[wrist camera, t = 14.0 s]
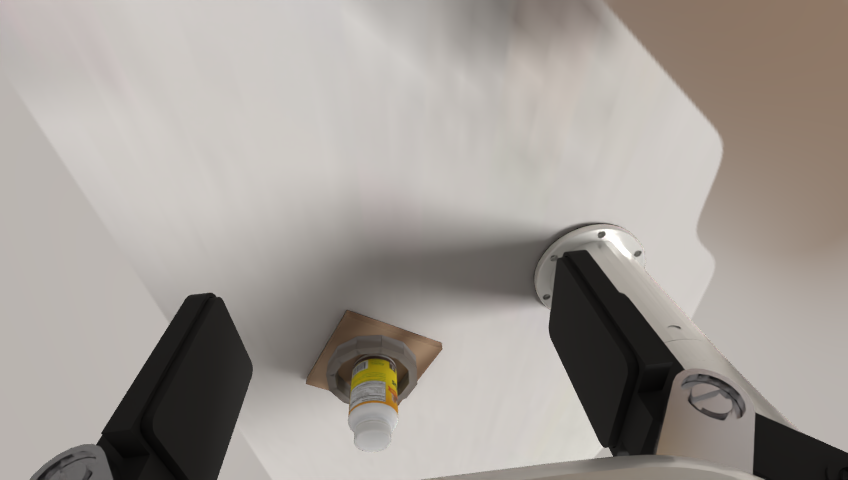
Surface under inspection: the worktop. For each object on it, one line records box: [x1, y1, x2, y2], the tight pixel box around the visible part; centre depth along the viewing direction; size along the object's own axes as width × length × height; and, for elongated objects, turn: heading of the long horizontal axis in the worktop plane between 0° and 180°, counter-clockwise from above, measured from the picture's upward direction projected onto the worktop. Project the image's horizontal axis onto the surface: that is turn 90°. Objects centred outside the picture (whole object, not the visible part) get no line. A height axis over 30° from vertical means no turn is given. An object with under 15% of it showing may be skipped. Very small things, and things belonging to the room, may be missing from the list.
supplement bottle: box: [348, 354, 398, 452], centre depth 47 cm, size 6×6×10 cm
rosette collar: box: [306, 310, 442, 405], centre depth 51 cm, size 13×13×3 cm
